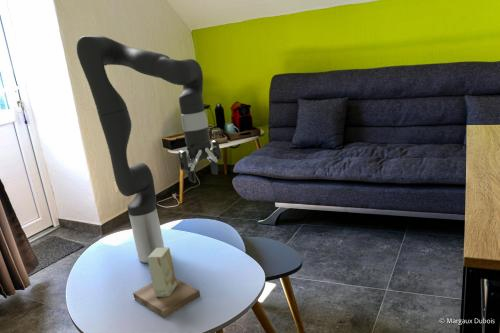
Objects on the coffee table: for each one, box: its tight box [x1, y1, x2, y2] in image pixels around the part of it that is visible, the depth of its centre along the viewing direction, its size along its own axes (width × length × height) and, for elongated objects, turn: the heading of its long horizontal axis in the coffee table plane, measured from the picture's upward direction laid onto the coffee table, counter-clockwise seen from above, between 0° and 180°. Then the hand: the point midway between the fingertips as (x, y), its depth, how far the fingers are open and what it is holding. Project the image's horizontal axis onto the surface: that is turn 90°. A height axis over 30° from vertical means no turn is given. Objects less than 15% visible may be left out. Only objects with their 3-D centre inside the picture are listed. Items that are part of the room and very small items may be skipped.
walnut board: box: [132, 277, 201, 319], centre depth 123 cm, size 16×12×2 cm
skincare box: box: [147, 246, 177, 297], centre depth 121 cm, size 6×4×12 cm
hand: (204, 178), depth 134 cm, fingers open, 8 cm apart
